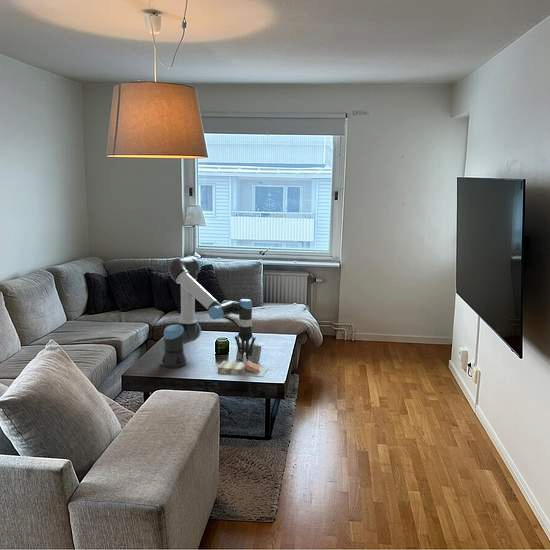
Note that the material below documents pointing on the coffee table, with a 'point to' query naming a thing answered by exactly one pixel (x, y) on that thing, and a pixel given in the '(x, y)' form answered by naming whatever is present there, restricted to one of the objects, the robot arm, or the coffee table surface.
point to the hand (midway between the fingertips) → (244, 363)
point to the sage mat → (259, 373)
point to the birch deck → (232, 367)
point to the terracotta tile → (252, 366)
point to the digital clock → (252, 356)
